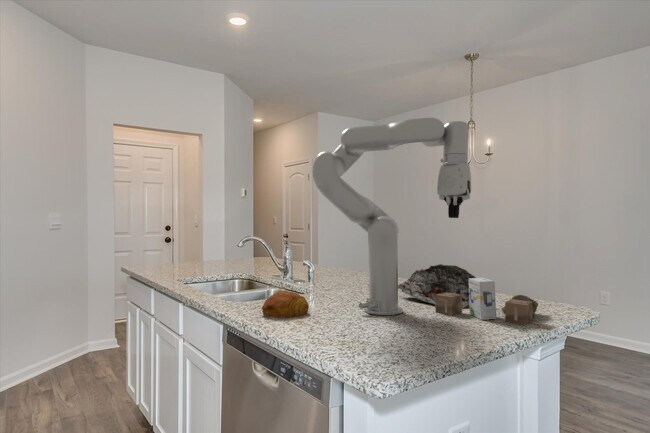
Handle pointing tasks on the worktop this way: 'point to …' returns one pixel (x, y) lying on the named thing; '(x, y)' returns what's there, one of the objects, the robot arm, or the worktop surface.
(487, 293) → the ink box
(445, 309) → the cardboard box
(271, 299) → the croissant
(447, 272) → the bark piece
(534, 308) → the stone
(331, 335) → the worktop surface
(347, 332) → the worktop surface
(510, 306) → the walnut block
